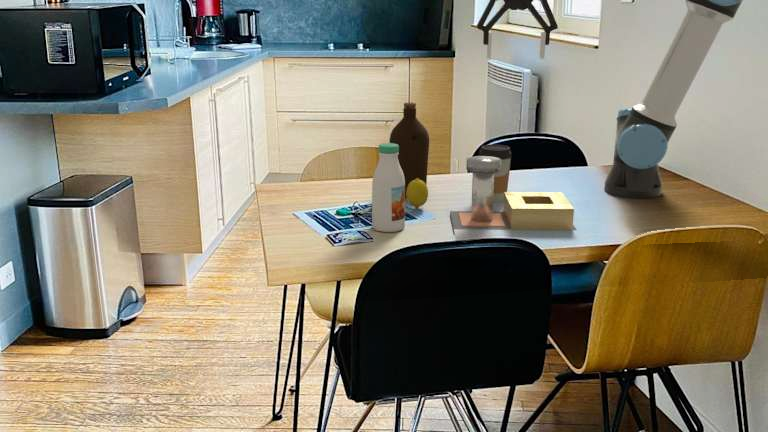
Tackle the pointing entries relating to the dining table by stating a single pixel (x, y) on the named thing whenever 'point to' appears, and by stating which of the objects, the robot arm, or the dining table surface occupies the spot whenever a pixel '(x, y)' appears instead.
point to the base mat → (464, 222)
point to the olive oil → (411, 145)
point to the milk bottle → (388, 191)
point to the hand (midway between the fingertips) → (515, 58)
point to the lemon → (417, 193)
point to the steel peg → (482, 185)
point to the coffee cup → (503, 175)
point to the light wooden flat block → (538, 211)
